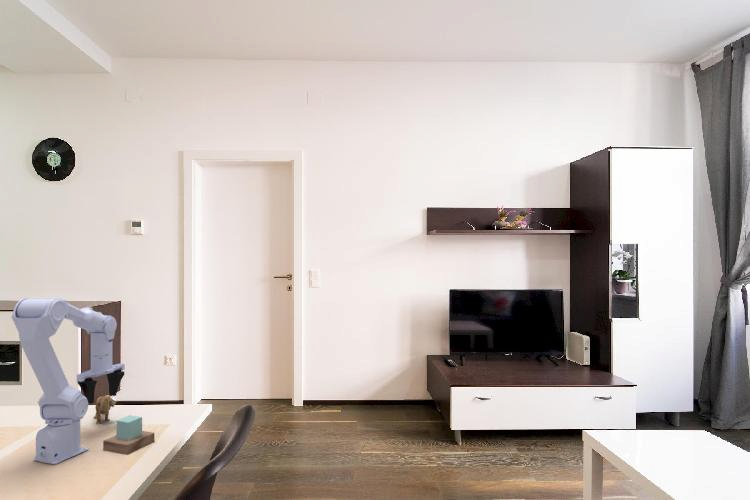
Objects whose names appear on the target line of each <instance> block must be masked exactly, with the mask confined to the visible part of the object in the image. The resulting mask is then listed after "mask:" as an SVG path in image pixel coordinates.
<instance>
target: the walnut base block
mask: <svg viewBox="0 0 750 500" xmlns="http://www.w3.org/2000/svg"><path fill="white" fill-rule="evenodd" d="M154 442H155V432H151V431H146V430H142V435H140V436H138V437H136V438H134V439H131V440H129V441H127V440H121V439H117V434H116V435H113V436H111V437H109V438H107V439H105V440H102V446H103V447H102V450H103V451H107V452H112V453H113V452H114V453H117V454H118V453H119V454H124V455H129V454H131V453H134V452H136V451H138V450H140V449H142V448H144V447H147V446H148V445H150V444H152V443H154Z"/></svg>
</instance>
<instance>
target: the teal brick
mask: <svg viewBox="0 0 750 500" xmlns="http://www.w3.org/2000/svg"><path fill="white" fill-rule="evenodd" d="M142 431H143V416H137V415H131V414H130V415H127V416H125V417H123V418H120V419H117V420H116V435H117V439H121V440H127V441H129V440H131V439H134V438H136V437H138V436H140V435H142Z"/></svg>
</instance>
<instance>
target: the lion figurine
mask: <svg viewBox="0 0 750 500" xmlns="http://www.w3.org/2000/svg"><path fill="white" fill-rule="evenodd" d="M116 403H117V400H114V399H113V398H112V397H111V396H110V395H109V394H105V395H103V396H99V397H97V399H96V402H95V414H94V415H95V416H94V417H93V419H96V425H99V424H101V422H102V420H101V415H105V416H104V421H105V422H110V418H109V413H110V410H111V408H114V407H115V404H116Z"/></svg>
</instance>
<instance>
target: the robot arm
mask: <svg viewBox="0 0 750 500" xmlns="http://www.w3.org/2000/svg"><path fill="white" fill-rule="evenodd" d="M93 309H94V308H93V307H90V306H85V307H83V308H78V307H76V306H75V305H72V304H70V303H69V302H68V301H67V300H65V299H62V298H59V297H58V298H57V297H56V298H21V299H20V300H18V302H16V304H15V306H14V309H13V311H12V313H11V319H12V321H13V323H14V325H15V327H16V330H17V332H18V335H19V336H18V337H19V343H20V346H21V348H22V350H23V352H24V354H25V356H26V358H27V361H28V362H29V365H30V366H31V368H32V370H33V373H34V376H36V379H37V381H38V384H39V385H40V387H41V390H42V392H43V394H42V395H41V396H40V398H39V399H38V401H37V404H38V406H39V415H40V418H41V419H42V420H44V421H45V422H44V424H45V425H46V426H45V427H43V428H41V429H39V430H38V431H37V433H36V436H35V457H34V458H33V461H35V462H36V461H37V462H41V463H46V464H49V465H50V464H51V465H56V464H59V463H61V462H64V461H66V460H68V459H71V458H73V457H75V456H77V455H80V454H82V453H84V452H86V451H88V450H89V447H83V446H81V420H82V419H84V417H85V415H86V414H87V412H88V409H89V404H94V402H95V390H96V386H97V382H98V381H97V380H94V379H93V378H97V377H101V376H104V375H106V377H107V382H108V393H109V394H108V395H110V397H111V396H112V397H115V396H117V393H118V390H119V386H120V383H121V381H122V379H123V378H124V376H125V367H126V365H125V363H116V364H113V340H114V339H115V335H116V333H115V332H116V330H117V326H118V323H117V320H116V318H115V317H113V316H112V315H110V314H109V315H106V314H103V312H100V311H95V310H93ZM64 319H66V320H69V321H72V324H73V325H74V327H77V328H80V329H82V330H85V331H86V333H87V335H90V369H89V370H85V371H83V372H81V373H78V374H76V382H77V385H78V386H79V387H80V389H81V390H80V389H78V388H76V387H74V386H71V385H70V384H69V382H68V379H67V377H66V375H65V372H64V370H63V368H62V366H61V364H60V361H59V359H58V357H57V354H56V352H55V350H54V347H53V345H52V343H51V341H50V338H51V337H52V336H54V335H56V333H57V331H58V330H59V328H60V326H61V324H62V322H63V321H64ZM82 392H83V394H84V395H83V394H82Z"/></svg>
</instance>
